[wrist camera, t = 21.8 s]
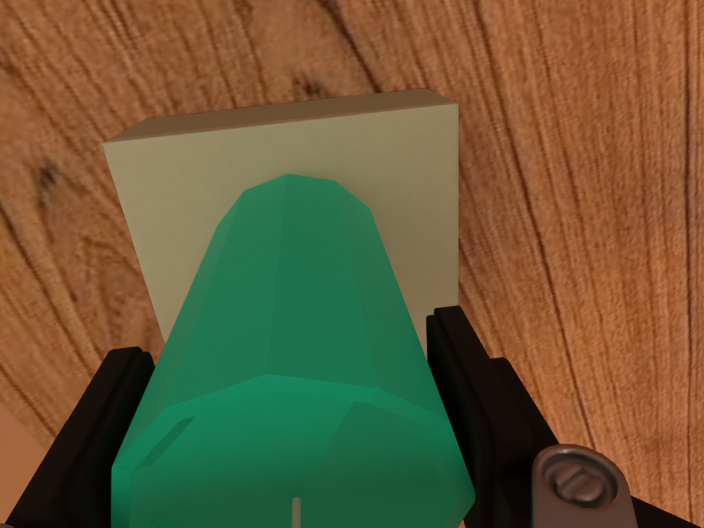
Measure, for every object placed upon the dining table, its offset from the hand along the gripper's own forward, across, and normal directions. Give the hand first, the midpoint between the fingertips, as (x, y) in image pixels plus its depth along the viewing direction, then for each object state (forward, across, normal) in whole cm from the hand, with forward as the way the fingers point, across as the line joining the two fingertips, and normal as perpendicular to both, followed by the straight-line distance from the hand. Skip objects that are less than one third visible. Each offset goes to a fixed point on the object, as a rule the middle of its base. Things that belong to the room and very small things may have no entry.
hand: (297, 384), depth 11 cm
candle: (+7, 0, 0) cm, 7 cm away
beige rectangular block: (+13, 0, +5) cm, 14 cm away
